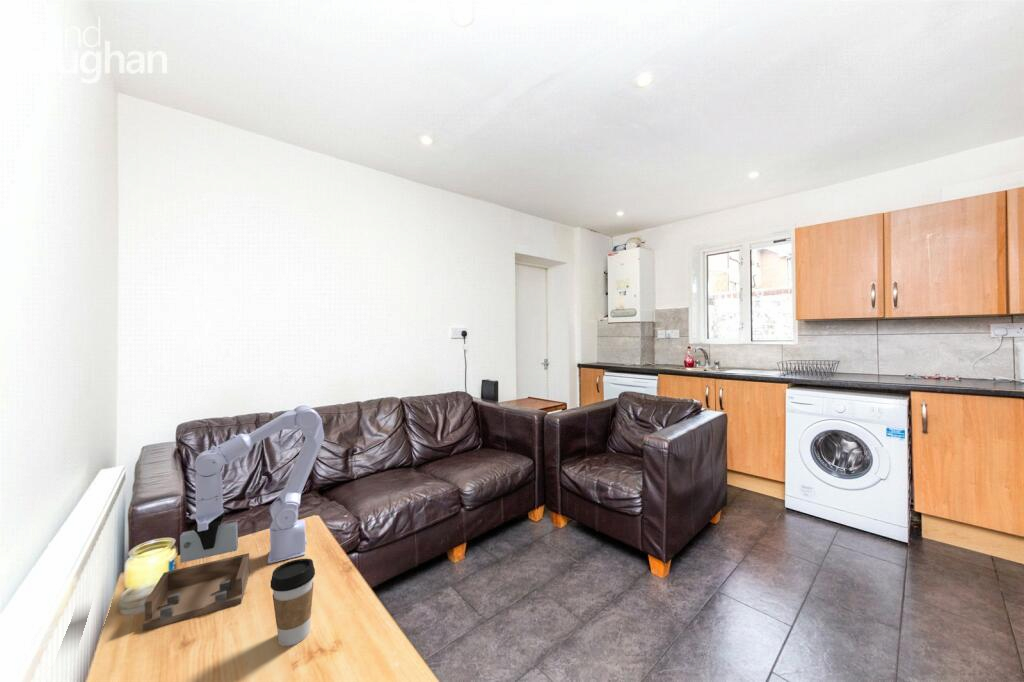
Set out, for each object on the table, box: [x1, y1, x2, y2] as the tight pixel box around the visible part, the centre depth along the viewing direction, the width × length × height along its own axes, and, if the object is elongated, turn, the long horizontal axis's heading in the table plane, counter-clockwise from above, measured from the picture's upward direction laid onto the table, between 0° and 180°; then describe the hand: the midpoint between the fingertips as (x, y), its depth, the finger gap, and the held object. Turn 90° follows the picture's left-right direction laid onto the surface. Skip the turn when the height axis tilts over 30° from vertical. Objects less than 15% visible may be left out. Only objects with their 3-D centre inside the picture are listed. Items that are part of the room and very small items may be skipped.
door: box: [179, 521, 239, 564], centre depth 103 cm, size 12×3×7 cm, turn 117°
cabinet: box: [142, 552, 251, 632], centre depth 95 cm, size 18×14×6 cm
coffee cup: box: [270, 558, 316, 647], centre depth 82 cm, size 8×8×15 cm
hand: (210, 545), depth 103 cm, fingers closed on door, 2 cm apart
